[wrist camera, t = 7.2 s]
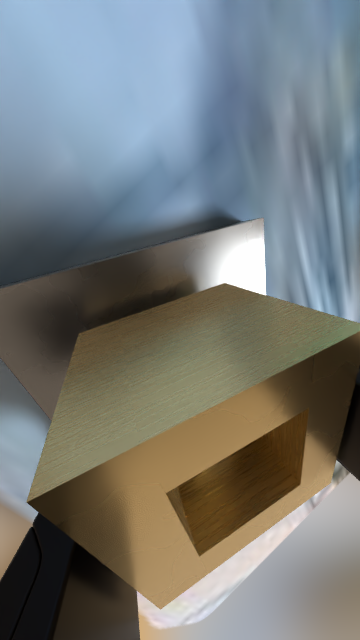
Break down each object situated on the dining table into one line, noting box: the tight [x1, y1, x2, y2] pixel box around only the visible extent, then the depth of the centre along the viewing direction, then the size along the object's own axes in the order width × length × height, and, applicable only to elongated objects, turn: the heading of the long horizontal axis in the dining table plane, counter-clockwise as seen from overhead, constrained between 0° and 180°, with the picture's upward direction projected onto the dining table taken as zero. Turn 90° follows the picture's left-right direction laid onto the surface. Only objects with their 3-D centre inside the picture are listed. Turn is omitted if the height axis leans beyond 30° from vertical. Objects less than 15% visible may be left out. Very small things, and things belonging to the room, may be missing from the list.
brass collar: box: [27, 283, 360, 609], centre depth 6 cm, size 6×6×5 cm
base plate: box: [0, 218, 266, 421], centre depth 10 cm, size 20×12×6 cm, turn 14°
